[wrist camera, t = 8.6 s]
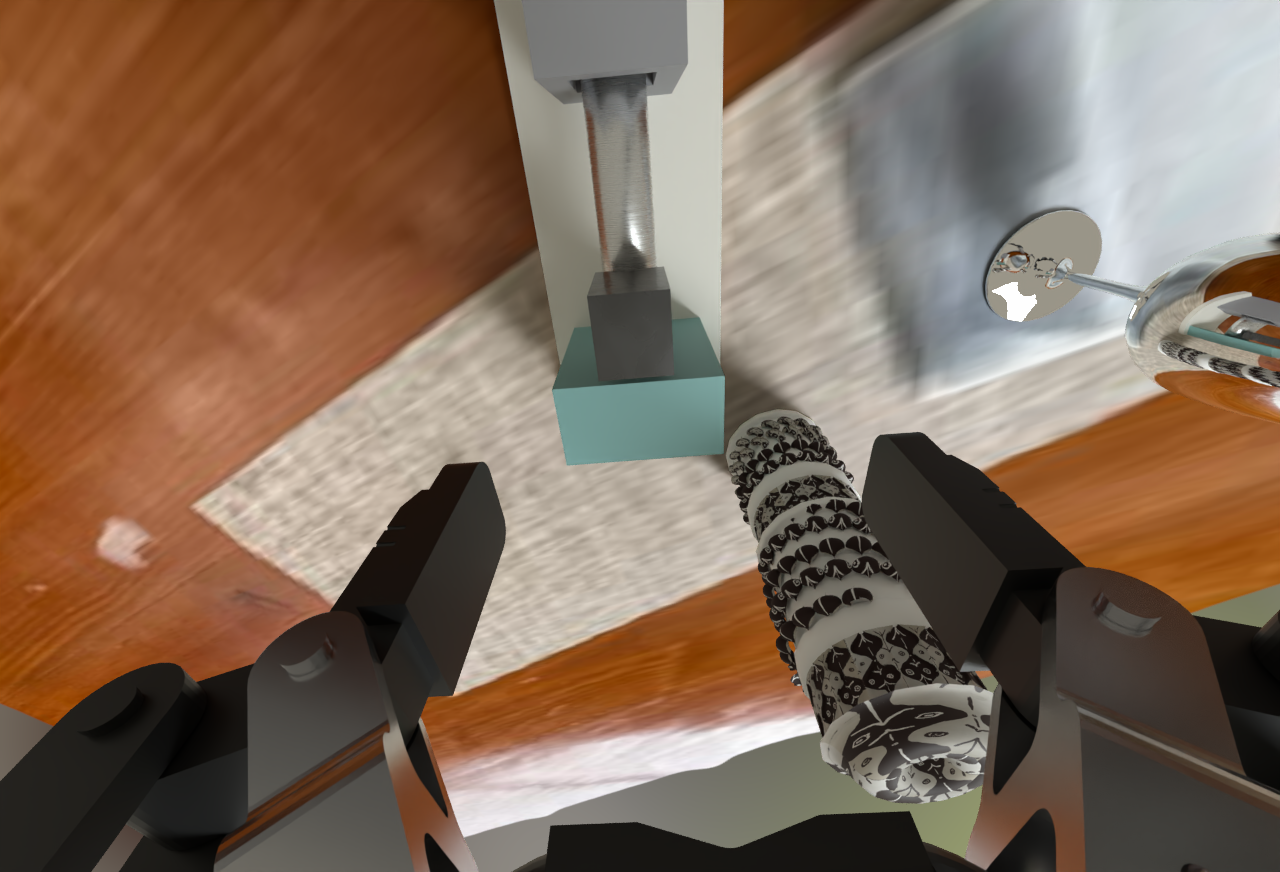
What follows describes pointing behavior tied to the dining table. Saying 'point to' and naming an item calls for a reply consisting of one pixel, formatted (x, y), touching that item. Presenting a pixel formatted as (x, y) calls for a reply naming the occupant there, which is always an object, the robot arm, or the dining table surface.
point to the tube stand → (678, 129)
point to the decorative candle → (854, 622)
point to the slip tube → (625, 235)
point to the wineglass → (1162, 308)
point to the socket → (641, 403)
